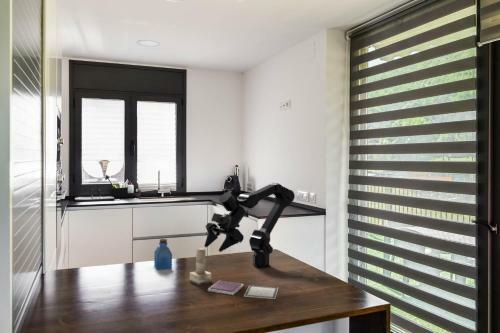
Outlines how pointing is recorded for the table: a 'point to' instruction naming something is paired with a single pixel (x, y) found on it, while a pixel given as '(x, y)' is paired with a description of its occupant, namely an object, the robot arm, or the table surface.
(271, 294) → the marked card
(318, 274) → the table surface
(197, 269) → the stamp
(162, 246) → the perfume bottle
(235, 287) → the ink pad
